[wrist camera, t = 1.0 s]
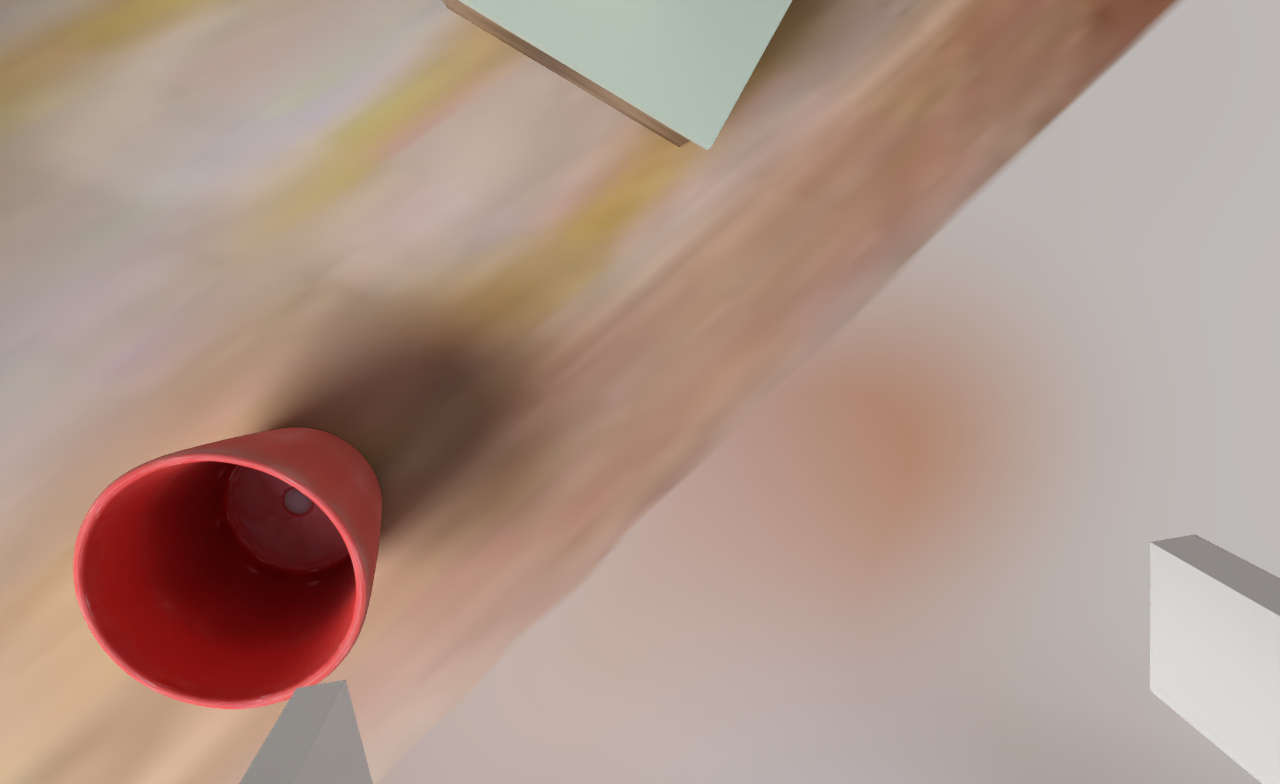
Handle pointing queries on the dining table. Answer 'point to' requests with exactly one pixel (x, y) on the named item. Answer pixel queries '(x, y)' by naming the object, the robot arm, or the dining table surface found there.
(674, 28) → the lid
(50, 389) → the dining table surface
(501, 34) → the crate
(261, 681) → the flower pot
